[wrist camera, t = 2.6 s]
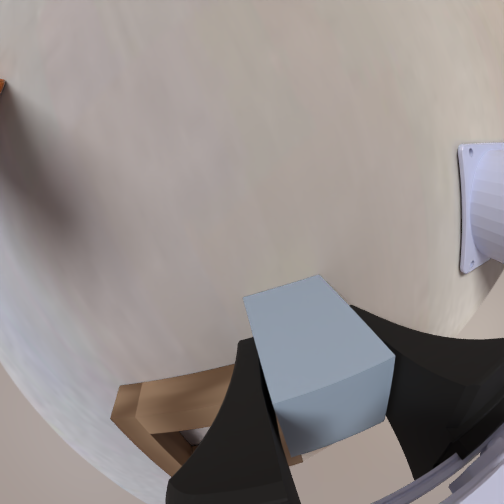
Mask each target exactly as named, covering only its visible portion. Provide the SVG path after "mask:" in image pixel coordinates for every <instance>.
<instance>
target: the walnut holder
mask: <svg viewBox="0 0 504 504" xmlns="http://www.w3.org/2000/svg"><path fill="white" fill-rule="evenodd" d="M234 366H235V364H232V365H228V366H224V367H220V368H216V369H211V370H207V371H202V372H198V373H193V374H188V375H183V376H178V377H173V378H167V379H162V380H156V381H150V382H143V383H137V384H129V385H122V386H120V387H119V390H118V393H117V397H116V400H115V404H114V407H113V411H112V414H111V418H110V419H111V420H112V421H113V422H114V423H115V424H116V426H117V427H118V428H119V429H120V430H121V431H122V432H123V433H124V434H125V435H126V436H127V437H128V438H129V439H130V440H131V441H132V442H133V443H134V444H135V445H136V446H137V447H138V448H139V449H140V450H141V451H142V452H143V453H144V454H146V455H147V456H148V457H149V458H150V459H151V460H152V461H153V462H154V463H156V464H157V465H158V466H159V467H160V468H161V469H163V470H164V471H165V472H166V473H167V474H169V475H170V476H171V477H172V476H173V475H174V474H175V473H176V472H177V471H178V470H179V469H180V468H181V467H182V466H183V464H184V463H185V462H186V461H187V460H188V459H189V457H190V456H191V455H192V454H193V452H194V451H195V449H196V448H197V447H198V446H191V445H190V444H189V443H188V442H187V441H186V440H185V438H184V437H183V436H182V435H181V434H180V432H179V431H183V430H190V429H197V428H203V427H209V426H211V425H212V423H213V421H214V419H215V418H216V416H217V414H218V411H219V409H220V407H221V405H222V403H223V400H224V398H225V395H226V392H227V389H228V387H229V384H230V381H231V377H232V373H233V370H234ZM276 418H277V415H276ZM277 423H278V429H279V434H280V439H281V443H282V446H283V450H284V453H285V456H286V459H287V462H288V466H292V465H295V464H299V463H302V462H303V460H302V456H301V455H298V456H295V457H291V455H290V452H289V450H288V447H287V444H286V441H285V438H284V436H283V433H282V430H281V427H280V424H279V421H278V418H277Z"/></svg>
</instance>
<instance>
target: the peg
mask: <svg viewBox="0 0 504 504" xmlns="http://www.w3.org/2000/svg"><path fill="white" fill-rule="evenodd" d="M243 300H244V304H245V307H246V311H247V315H248V318H249V322H250V326H251V329H252V333H253V337H254V340H255V344H256V348H257V351H258V355H259V358H260V362H261V365H262V369H263V373H264V376H265V380H266V383H267V387H268V390H269V394H270V397H271V400H272V404H273V407H274V410H275V413H276V415H277V418H278V421H279V424H280V427H281V430H282V433H283V436H284V438H285V441H286V444H287V447H288V450H289V452H290V455H291V457H295V456H298V455H301V454H304V453H308V452H311V451H314V450H317V449H319V448H322V447H325V446H328V445H330V444H333V443H336V442H338V441H341V440H343V439H346V438H348V437H350V436H353V435H355V434H357V433H360V432H362V431H364V430H366V429H368V428H371V427H373V426H375V425H377V424H379V423H381V422H383V421H384V419H385V415H386V410H387V405H388V400H389V395H390V389H391V383H392V377H393V370H394V363H395V355H394V354H393V353H392V351H391V350H390V349H389V348H388V347H387V346H386V345H385V344H384V343H383V342H382V340H381V339H380V338H379V337H378V336H377V335H376V334H375V333H374V332H373V331H372V330H371V329H370V327H369V326H368V325H367V324H366V323H365V322H364V321H363V320H362V319H361V318H360V317H359V316H358V315H357V314H356V313H355V311H354V310H353V309H352V308H351V307H350V306H349V305H348V304H347V303H346V302H345V301H344V300H343V299H342V298H341V297H340V296H339V295H338V294H337V293H336V291H335V290H334V289H333V288H332V287H331V286H330V285H329V284H328V283H327V282H326V281H325V280H324V279H323V278H322V277H321V276H320V275H316V276H313V277H310V278H306V279H303V280H300V281H297V282H294V283H290V284H287V285H284V286H280V287H277V288H274V289H270V290H267V291H264V292H260V293H257V294H253V295H250V296H246V297H243Z"/></svg>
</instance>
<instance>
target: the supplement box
mask: <svg viewBox="0 0 504 504" xmlns="http://www.w3.org/2000/svg"><path fill="white" fill-rule="evenodd" d="M4 85H5V80H3V79H0V95H1V92H2V90H3V87H4Z"/></svg>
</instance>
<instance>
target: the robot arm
mask: <svg viewBox="0 0 504 504" xmlns="http://www.w3.org/2000/svg"><path fill="white" fill-rule="evenodd" d="M458 158H459V166H460V177H461V192H462V248H461V263H460V270H461V272H463V273H465V274H467V273H469V272H470V271H472V270H474V269H475V268H477V267H478V266H480V265H482V264H483V263H485V262H486V261H488V260H490V259H491V258H492V259H494V260H497V261H499V262H501V263H503V264H504V142H497V143H472V144H461V145H459V147H458ZM349 306H350V307H351V308H352V309H353V310H354V311H355V313H356V314H357V315H358V316H359V317H360V318H361V319H362V320H363V321H364V322H365V323H366V324H367V325H368V326H369V327H370V329H371V330H372V331H373V332H374V333H375V334H376V335H377V336H378V337H379V338H380V339H381V340H382V342H383V343H384V344H385V345H386V346H387V347H388V348H389V349H390V350H391V351H392V353H393V354H394V355H395V363H394V370H393V377H392V383H391V389H390V395H389V400H388V405H387V410H386V417H387V419H388V420H389V422H390V424H391V426H392V428H393V430H394V432H395V434H396V436H397V438H398V441H399V443H400V445H401V447H402V450H403V452H404V454H405V457H406V459H407V462H408V464H409V467H410V469H411V472H412V475H413V478H414V480H415V481H413V482H412V483H410V484H408V485H407V486H405V487H403V488H401V489H399V490H398V491H396V492H394V493H392V494H390V495H388V496H386V497H384V498H382V499H380V500H378V501H376V502H374V503H371V504H409V503H411V502H413V501H414V500H416V499H418V498H419V497H421V496H422V495H424V494H426V493H427V492H429V491H431V490H432V489H434V488H435V487H436V486H438V485H440V484H441V483H442V482H444V481H445V480H446V479H448V478H449V477H451V476H452V475H453V474H455V473H456V472H457V471H459V470H460V469H461V468H462V467H464V466H465V465H466V464H467V463H468V462H470V461H471V460H472V459H473V458H474V457H475V456H477V455H478V454H479V453H480V452H481V453H480V457H478V458H477V460H475V461H474V462H473V463H472V464H471V465H470V466H469V467H468V468H467V469H466V470H465V471H464V472H463V473H462V474H461V475H460V476H459V477H458V478H457V479H456V480H455V481H453V482H452V483H451V484H450V485H449V489H450V490H451V492H452V495H450V496H449V497H448V498H446V499H445V500H444V501H442V502H441V503H439V504H504V338H498V339H485V340H474V339H456V338H449V337H442V336H436V335H432V334H427V333H423V332H419V331H416V330H412V329H409V328H406V327H404V326H401V325H398V324H395V323H393V322H390V321H388V320H385V319H383V318H380V317H378V316H376V315H374V314H371V313H369V312H367V311H365V310H362V309H360V308H358V307H355V306H353V305H349ZM166 504H301V502H300V500H299V497H298V493H297V491H296V487H295V484H294V481H293V478H292V475H291V472H290V469H289V466H288V462H287V459H286V456H285V453H284V450H283V446H282V443H281V439H280V434H279V429H278V423H277V418H276V413H275V410H274V407H273V404H272V400H271V397H270V394H269V390H268V387H267V383H266V380H265V376H264V373H263V369H262V365H261V362H260V358H259V355H258V351H257V348H256V344H255V340H254V337H252V338H248V339H245V340H241V341H239V343H238V348H237V356H236V361H235V366H234V370H233V373H232V377H231V381H230V384H229V387H228V389H227V392H226V395H225V398H224V400H223V403H222V405H221V407H220V409H219V411H218V414H217V416H216V418H215V419H214V421H213V423H212V425H211V427H210V428H209V430H208V432H207V434H206V435H205V437H204V438H203V440H202V441H201V443H200V444H199V445H198V447H197V448H196V449H195V451H194V452H193V454H192V455H191V456H190V457H189V459H188V460H187V461H186V462H185V463H184V464H183V466H182V467H181V468H180V469H179V470H178V471H177V472H176V473H175V474H174V475H173V476H172V477H171V478H170V479H169V481H168V486H167V492H166Z"/></svg>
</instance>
